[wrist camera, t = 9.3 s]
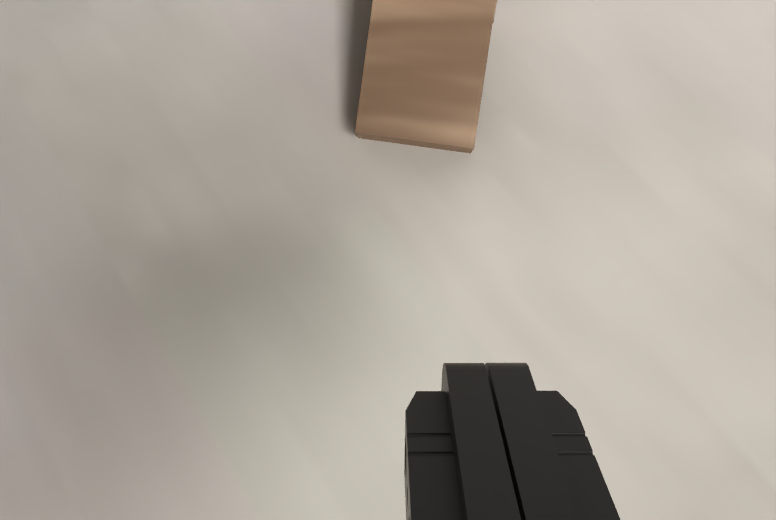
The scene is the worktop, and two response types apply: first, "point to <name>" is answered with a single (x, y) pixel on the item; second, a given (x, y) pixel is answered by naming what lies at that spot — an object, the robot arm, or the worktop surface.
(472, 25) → the domino
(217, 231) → the worktop surface
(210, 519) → the worktop surface
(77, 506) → the worktop surface
